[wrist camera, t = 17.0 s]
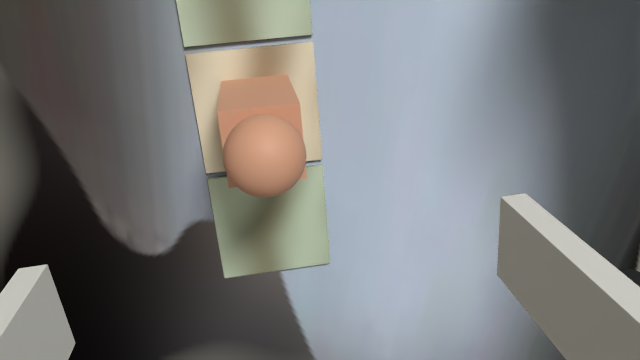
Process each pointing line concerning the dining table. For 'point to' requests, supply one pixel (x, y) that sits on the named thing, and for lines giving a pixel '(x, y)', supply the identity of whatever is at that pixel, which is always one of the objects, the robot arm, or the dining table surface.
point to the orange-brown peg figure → (261, 135)
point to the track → (205, 77)
